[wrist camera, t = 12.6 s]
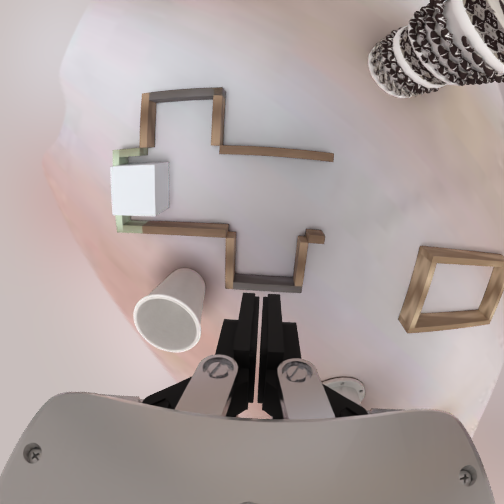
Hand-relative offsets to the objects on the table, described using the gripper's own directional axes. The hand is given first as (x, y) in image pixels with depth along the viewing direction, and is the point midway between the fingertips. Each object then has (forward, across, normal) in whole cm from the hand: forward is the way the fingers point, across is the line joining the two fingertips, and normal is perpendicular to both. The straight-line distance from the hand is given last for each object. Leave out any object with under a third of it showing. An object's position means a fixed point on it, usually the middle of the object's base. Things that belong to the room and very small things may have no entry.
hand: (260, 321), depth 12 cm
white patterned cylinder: (+23, -17, -21) cm, 36 cm away
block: (+23, +15, -4) cm, 28 cm away
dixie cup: (+24, +11, +11) cm, 28 cm away
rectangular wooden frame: (+24, -34, +10) cm, 43 cm away
